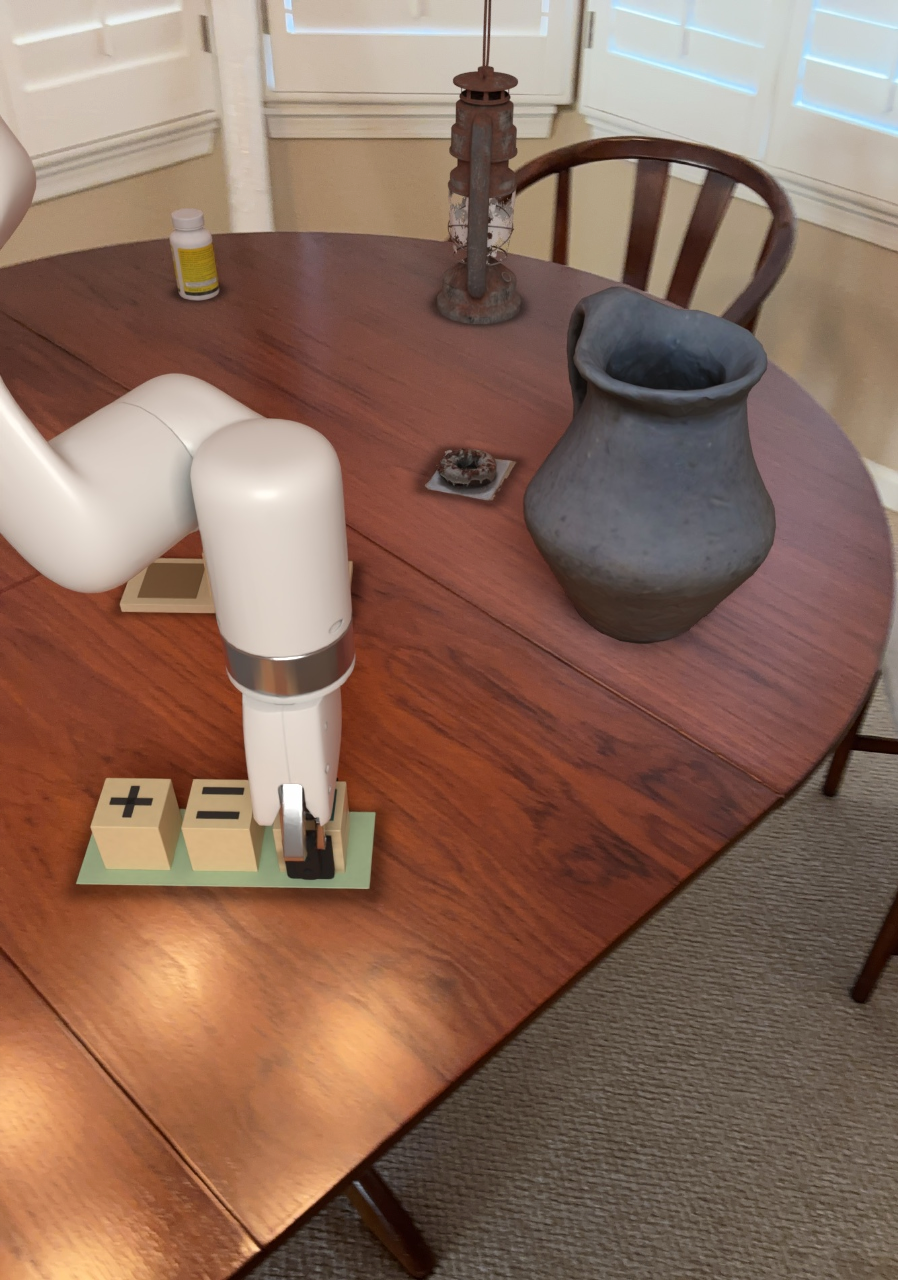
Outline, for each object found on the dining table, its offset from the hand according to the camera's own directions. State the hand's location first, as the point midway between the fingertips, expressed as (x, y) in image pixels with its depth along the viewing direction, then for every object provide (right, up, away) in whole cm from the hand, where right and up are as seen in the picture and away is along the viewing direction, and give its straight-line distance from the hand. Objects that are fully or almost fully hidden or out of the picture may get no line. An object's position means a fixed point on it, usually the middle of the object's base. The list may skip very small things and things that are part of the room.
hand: (315, 844), depth 74 cm
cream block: (0, 0, 0) cm, 0 cm away
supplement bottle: (-24, +70, +66) cm, 99 cm away
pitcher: (+25, +21, +21) cm, 39 cm away
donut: (+12, +36, +36) cm, 52 cm away
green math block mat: (-6, -1, +1) cm, 6 cm away
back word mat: (-10, +22, +22) cm, 33 cm away
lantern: (+13, +67, +64) cm, 94 cm away
